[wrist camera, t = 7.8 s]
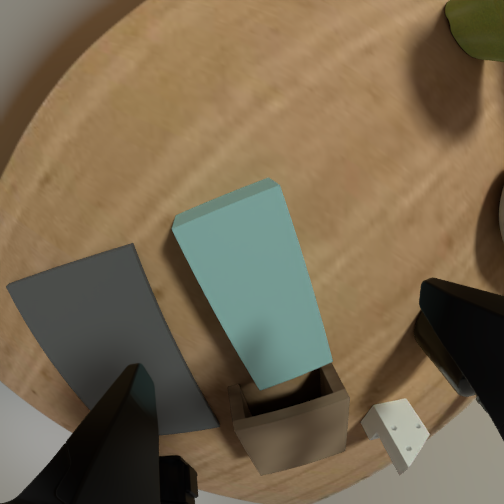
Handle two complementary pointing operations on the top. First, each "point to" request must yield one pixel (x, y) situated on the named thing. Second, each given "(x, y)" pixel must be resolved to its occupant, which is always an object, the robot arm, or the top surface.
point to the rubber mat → (110, 334)
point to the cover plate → (256, 281)
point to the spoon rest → (501, 214)
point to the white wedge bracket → (396, 431)
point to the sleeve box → (294, 427)
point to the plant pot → (478, 27)
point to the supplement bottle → (441, 357)
